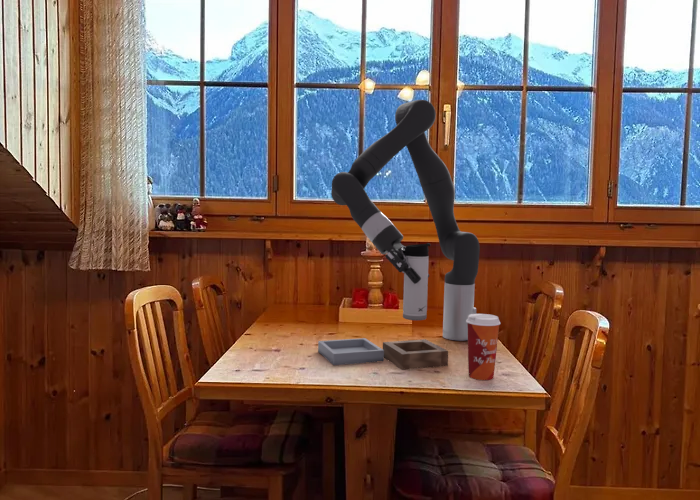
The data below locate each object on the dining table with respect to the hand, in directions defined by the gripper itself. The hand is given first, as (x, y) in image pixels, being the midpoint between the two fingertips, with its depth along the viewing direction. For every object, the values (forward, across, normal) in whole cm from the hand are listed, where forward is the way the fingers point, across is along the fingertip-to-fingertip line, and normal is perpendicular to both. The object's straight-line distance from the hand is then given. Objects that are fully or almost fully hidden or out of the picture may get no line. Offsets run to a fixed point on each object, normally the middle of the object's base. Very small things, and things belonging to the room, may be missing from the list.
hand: (422, 279), depth 157 cm
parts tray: (+3, -4, +29) cm, 29 cm away
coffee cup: (+28, -5, +3) cm, 29 cm away
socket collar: (+14, 0, +17) cm, 22 cm away
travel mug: (+6, 0, +9) cm, 11 cm away
